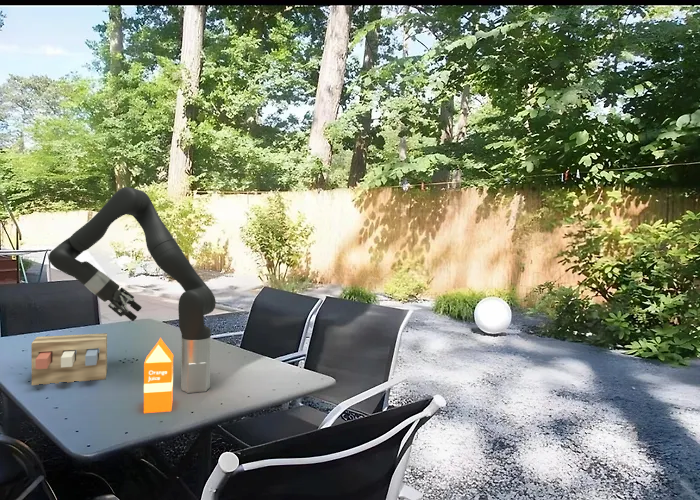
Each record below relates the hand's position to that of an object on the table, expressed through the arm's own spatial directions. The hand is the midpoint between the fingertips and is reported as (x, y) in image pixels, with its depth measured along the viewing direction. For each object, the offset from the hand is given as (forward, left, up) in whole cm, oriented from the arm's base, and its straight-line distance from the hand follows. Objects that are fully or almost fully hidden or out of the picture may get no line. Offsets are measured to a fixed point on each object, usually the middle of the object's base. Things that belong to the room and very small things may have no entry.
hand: (137, 314), depth 189 cm
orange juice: (-44, -6, -21) cm, 49 cm away
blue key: (-13, +14, -13) cm, 23 cm away
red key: (-13, +28, -13) cm, 34 cm away
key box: (-6, +21, -20) cm, 30 cm away
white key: (-13, +21, -13) cm, 28 cm away
